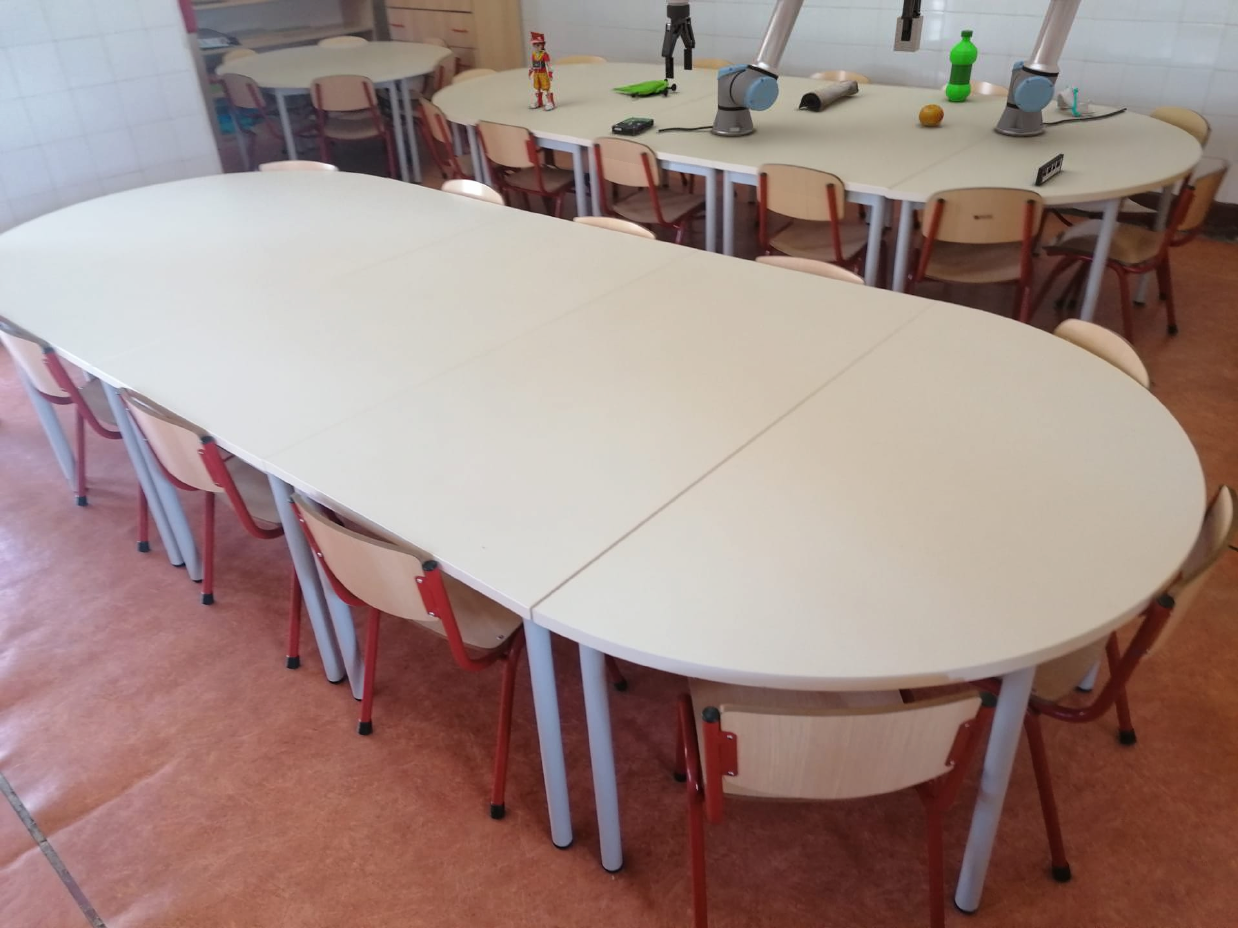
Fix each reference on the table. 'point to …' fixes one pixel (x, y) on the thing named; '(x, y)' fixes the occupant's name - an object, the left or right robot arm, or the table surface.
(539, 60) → the toy
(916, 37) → the brick
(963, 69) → the plastic bottle
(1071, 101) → the anatomical model
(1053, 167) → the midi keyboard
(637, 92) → the toy
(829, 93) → the rolled mat
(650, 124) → the disk drive
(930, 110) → the fruit
